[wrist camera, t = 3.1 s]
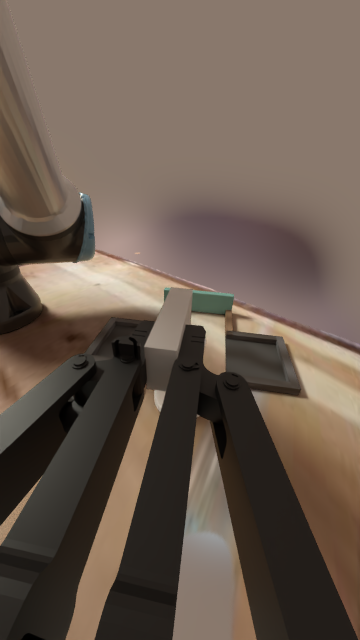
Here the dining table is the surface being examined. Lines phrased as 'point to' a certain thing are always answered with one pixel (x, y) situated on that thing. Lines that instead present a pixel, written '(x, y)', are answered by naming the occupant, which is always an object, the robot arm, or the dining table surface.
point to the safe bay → (209, 301)
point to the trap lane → (241, 355)
